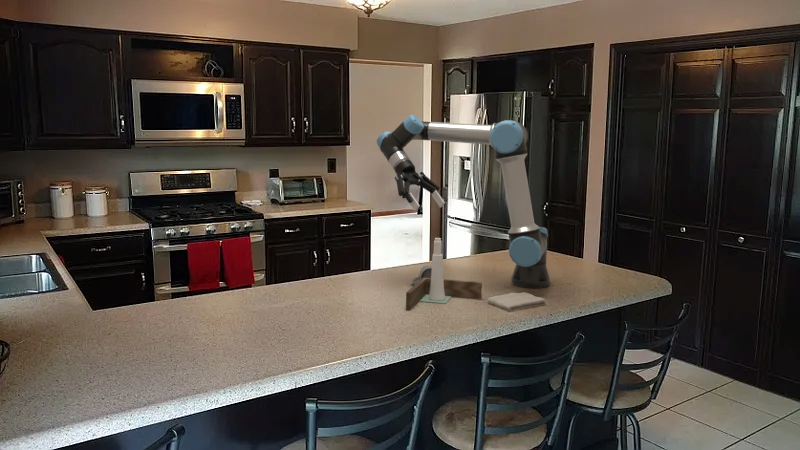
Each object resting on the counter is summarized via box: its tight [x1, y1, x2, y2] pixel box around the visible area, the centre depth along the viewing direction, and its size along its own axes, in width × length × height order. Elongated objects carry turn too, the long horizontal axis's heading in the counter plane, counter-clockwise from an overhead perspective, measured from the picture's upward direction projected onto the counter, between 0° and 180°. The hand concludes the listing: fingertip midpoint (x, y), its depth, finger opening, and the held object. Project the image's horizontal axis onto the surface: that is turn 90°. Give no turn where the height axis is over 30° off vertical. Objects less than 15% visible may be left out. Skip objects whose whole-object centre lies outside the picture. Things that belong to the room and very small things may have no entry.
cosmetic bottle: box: [429, 237, 445, 300], centre depth 219 cm, size 6×6×22 cm
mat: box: [418, 294, 453, 305], centre depth 220 cm, size 10×10×1 cm
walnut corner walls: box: [405, 278, 483, 311], centre depth 214 cm, size 22×22×6 cm
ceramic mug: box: [411, 265, 432, 286], centre depth 241 cm, size 11×8×8 cm
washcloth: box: [486, 291, 547, 312], centre depth 215 cm, size 12×18×3 cm, turn 122°
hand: (430, 206), depth 229 cm, fingers open, 13 cm apart
